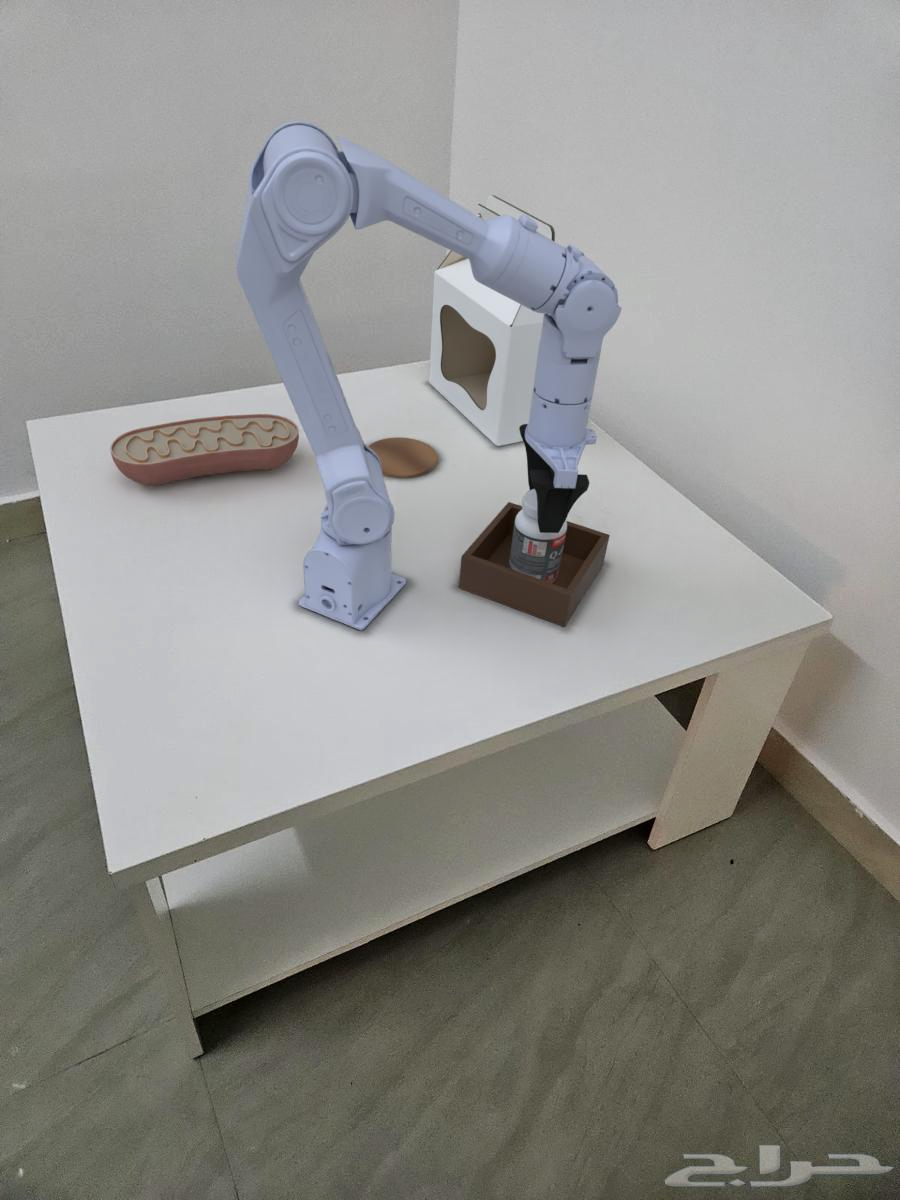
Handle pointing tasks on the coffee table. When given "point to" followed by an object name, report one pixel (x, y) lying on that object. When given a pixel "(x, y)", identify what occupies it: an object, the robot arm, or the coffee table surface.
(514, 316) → the gable box
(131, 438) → the anatomical model
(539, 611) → the open box
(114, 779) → the coffee table surface
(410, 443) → the coaster
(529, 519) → the pill bottle
